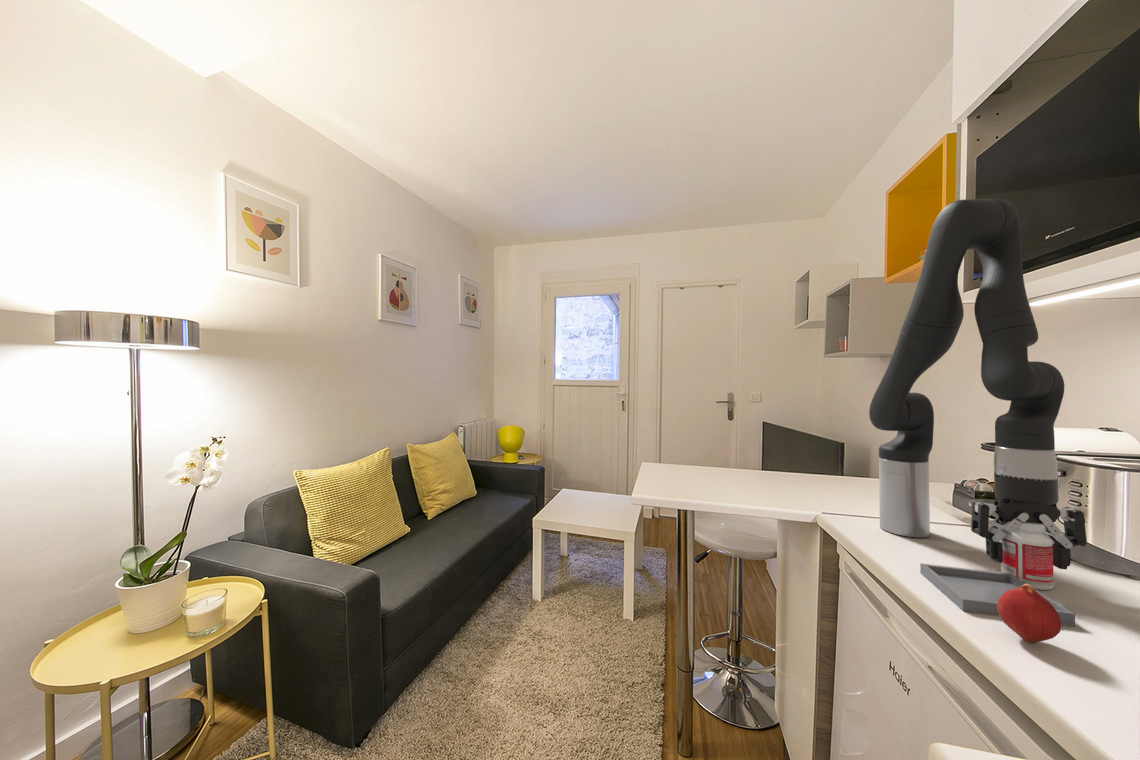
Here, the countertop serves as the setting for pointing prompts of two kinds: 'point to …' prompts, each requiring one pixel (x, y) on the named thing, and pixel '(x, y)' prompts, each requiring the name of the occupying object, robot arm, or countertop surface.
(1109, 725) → the countertop surface
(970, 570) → the slate dish
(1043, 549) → the pill bottle
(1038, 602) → the onion
